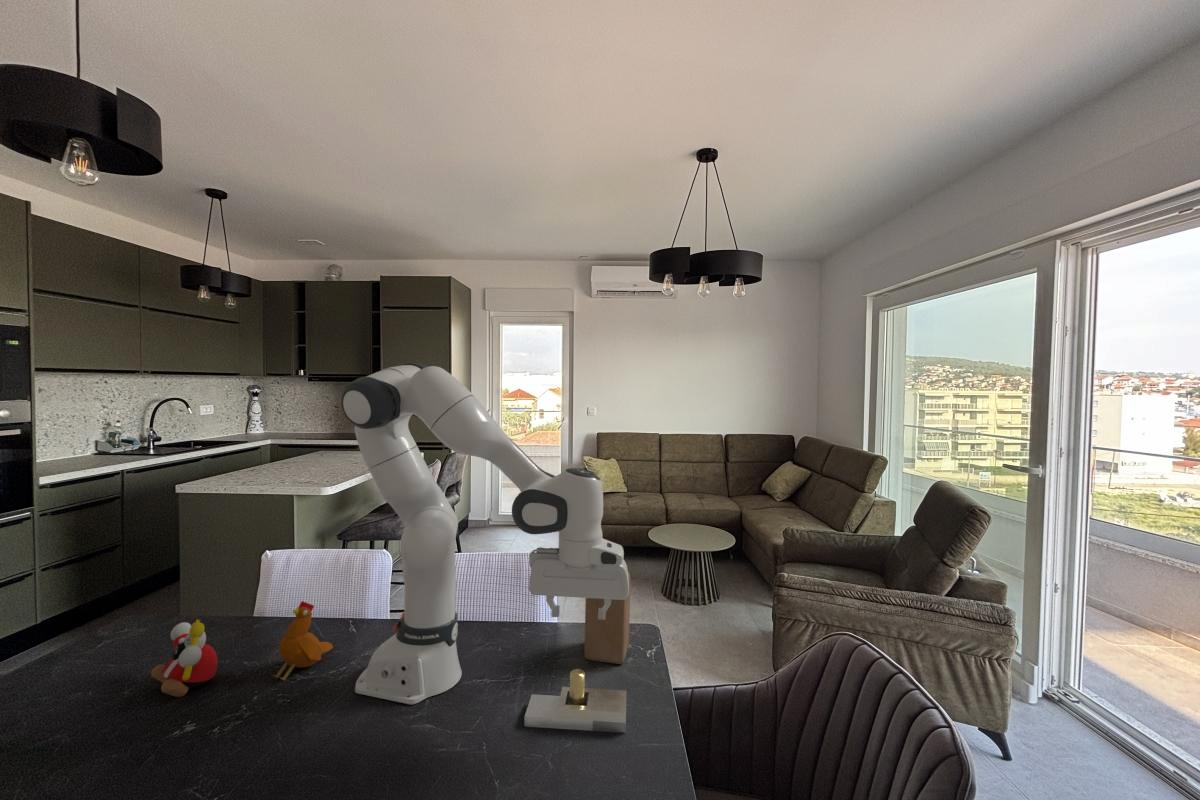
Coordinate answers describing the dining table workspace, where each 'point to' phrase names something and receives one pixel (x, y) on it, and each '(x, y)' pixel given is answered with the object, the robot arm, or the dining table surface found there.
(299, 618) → the toy
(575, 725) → the stepped socket block
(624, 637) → the wooden block
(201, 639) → the toy
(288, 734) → the dining table surface
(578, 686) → the pin
